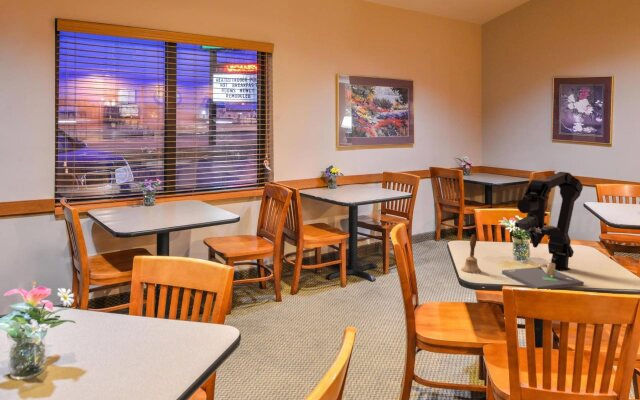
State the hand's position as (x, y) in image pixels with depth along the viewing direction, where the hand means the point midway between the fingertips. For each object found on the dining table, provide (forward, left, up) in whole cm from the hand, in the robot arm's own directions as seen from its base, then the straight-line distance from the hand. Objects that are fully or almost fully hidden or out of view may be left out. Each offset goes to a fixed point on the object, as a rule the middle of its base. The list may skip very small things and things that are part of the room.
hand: (535, 247), depth 212 cm
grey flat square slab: (-1, +4, -13) cm, 13 cm away
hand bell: (+20, -15, -13) cm, 28 cm away
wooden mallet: (-6, +1, -11) cm, 12 cm away
